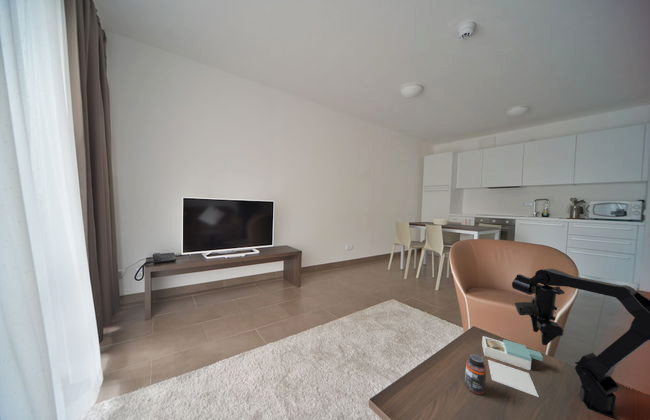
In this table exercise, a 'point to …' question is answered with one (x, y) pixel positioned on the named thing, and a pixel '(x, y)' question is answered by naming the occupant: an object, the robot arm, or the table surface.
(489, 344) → the cube
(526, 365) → the tub
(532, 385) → the mat
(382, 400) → the table surface
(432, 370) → the table surface
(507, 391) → the table surface
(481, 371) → the supplement bottle
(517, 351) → the lid
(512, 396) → the table surface
